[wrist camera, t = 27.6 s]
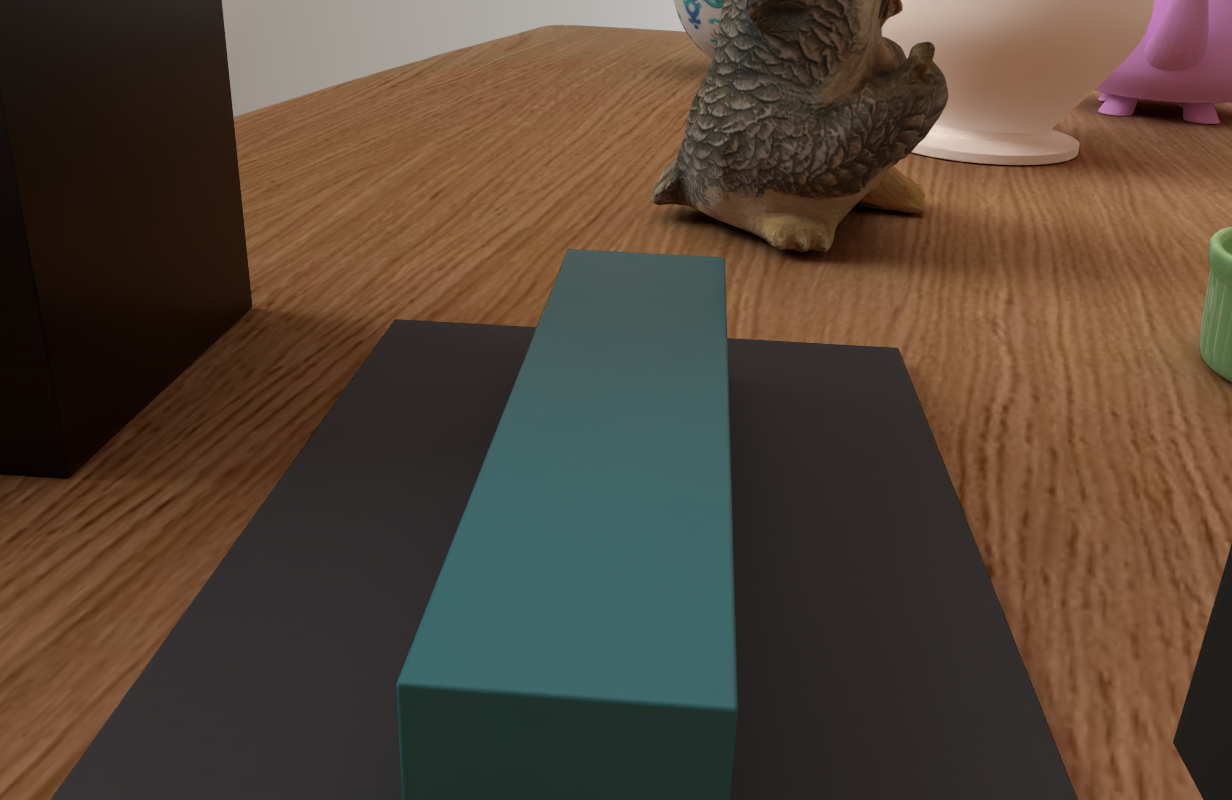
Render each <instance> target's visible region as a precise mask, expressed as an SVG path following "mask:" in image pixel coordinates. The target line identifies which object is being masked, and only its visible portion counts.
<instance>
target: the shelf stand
mask: <svg viewBox="0 0 1232 800" xmlns="http://www.w3.org/2000/svg"><path fill="white" fill-rule="evenodd" d="M251 307H252V299H251V289H250V279H249V269H248V259H247V249H246V239H245V229H244V219H243V209H242V199H241V189H240V179H239V170H238V160H237V150H236V140H235V130H234V120H233V111H232V100H231V90H230V80H229V70H228V60H227V50H226V40H225V30H224V21H223V10H222V1H221V0H0V473H13V474H28V475H44V476H59V477H69V476H70V475H72V474H73V473H74V472H75V471H76V470H77V469H78V468H79V467H80V466H81V465H82V464H83V463H84V462H86V461H87V460H88V459H89V458H90V457H91V456H92V455H93V454H94V453H95V452H96V451H97V450H98V449H99V448H101V447H102V446H103V445H104V444H105V443H106V442H107V441H108V440H109V439H110V438H111V437H112V436H113V435H114V434H116V433H117V432H118V431H119V430H120V429H121V428H122V427H123V426H124V425H125V424H126V423H127V422H128V421H130V420H131V419H132V418H133V417H134V416H135V415H136V414H137V413H138V412H139V411H140V410H141V409H142V408H143V407H145V406H146V405H147V404H148V403H149V402H150V401H151V400H152V399H153V398H154V397H155V396H156V395H157V394H158V393H160V392H161V391H162V390H163V389H164V388H165V387H166V386H167V385H168V384H169V383H170V382H171V381H172V380H174V379H175V378H176V377H177V376H178V375H179V374H180V373H181V372H182V371H183V370H184V369H185V368H186V367H187V366H189V365H190V364H191V363H192V362H193V361H194V360H195V359H196V358H197V357H198V356H199V355H200V354H201V353H202V352H204V351H205V350H206V349H207V348H208V347H209V346H210V345H211V344H212V343H213V342H214V341H215V340H216V339H218V338H219V337H220V336H221V335H222V334H223V333H224V332H225V331H226V330H227V329H228V328H229V327H230V326H231V325H233V324H234V323H235V322H236V321H237V320H238V319H239V318H240V317H241V316H242V315H243V314H244V313H245V312H247V311H248V310H249V309H250V308H251Z"/></svg>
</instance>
